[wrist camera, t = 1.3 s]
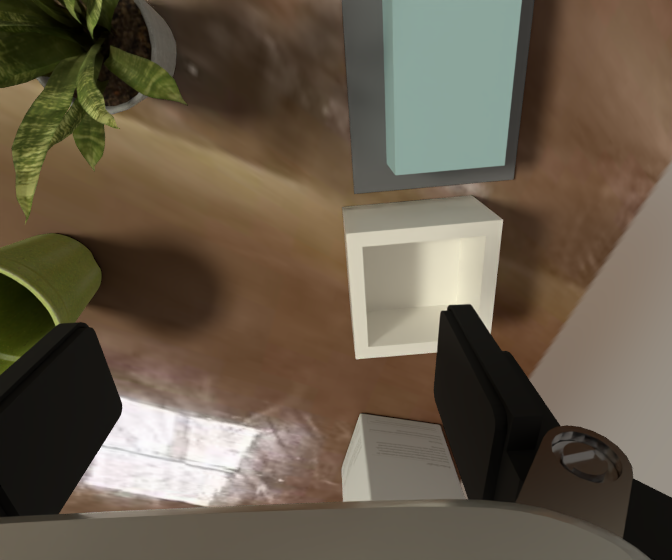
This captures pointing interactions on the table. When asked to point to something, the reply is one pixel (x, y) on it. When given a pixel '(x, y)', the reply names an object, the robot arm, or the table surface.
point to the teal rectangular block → (448, 82)
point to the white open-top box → (417, 270)
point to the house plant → (80, 73)
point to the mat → (369, 105)
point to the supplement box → (398, 462)
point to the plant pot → (42, 290)
